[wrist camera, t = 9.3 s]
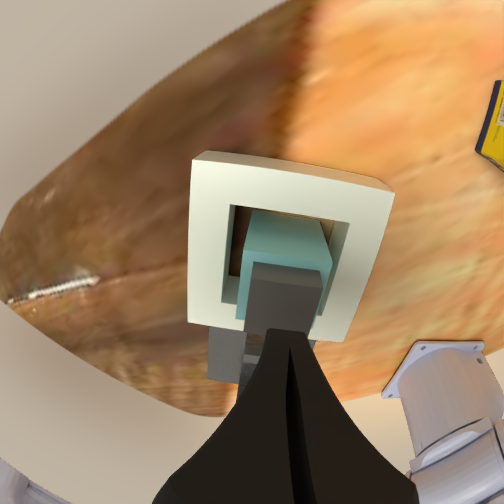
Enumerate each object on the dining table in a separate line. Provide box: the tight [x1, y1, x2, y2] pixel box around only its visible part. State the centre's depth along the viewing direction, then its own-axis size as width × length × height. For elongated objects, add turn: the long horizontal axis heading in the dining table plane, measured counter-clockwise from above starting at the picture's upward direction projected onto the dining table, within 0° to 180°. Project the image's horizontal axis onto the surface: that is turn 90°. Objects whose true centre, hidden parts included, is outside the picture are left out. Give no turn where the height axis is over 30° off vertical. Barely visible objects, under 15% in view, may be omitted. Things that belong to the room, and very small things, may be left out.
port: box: [188, 150, 396, 342], centre depth 17 cm, size 10×10×3 cm
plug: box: [235, 210, 333, 338], centre depth 15 cm, size 4×4×7 cm
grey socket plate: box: [207, 326, 316, 402], centre depth 21 cm, size 8×8×4 cm
